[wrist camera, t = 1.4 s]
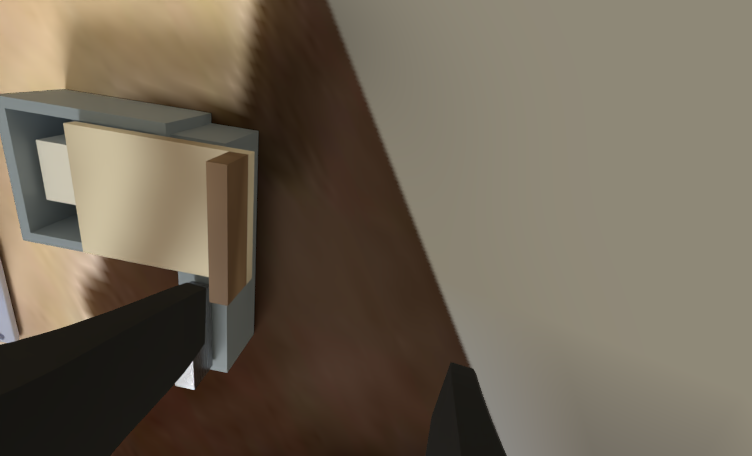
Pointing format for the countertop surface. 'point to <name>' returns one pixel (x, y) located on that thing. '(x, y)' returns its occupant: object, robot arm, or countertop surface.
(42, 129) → the box
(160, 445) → the countertop surface
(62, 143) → the soap bar
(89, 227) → the lid
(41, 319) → the countertop surface
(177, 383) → the grey rectangular bar
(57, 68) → the countertop surface
